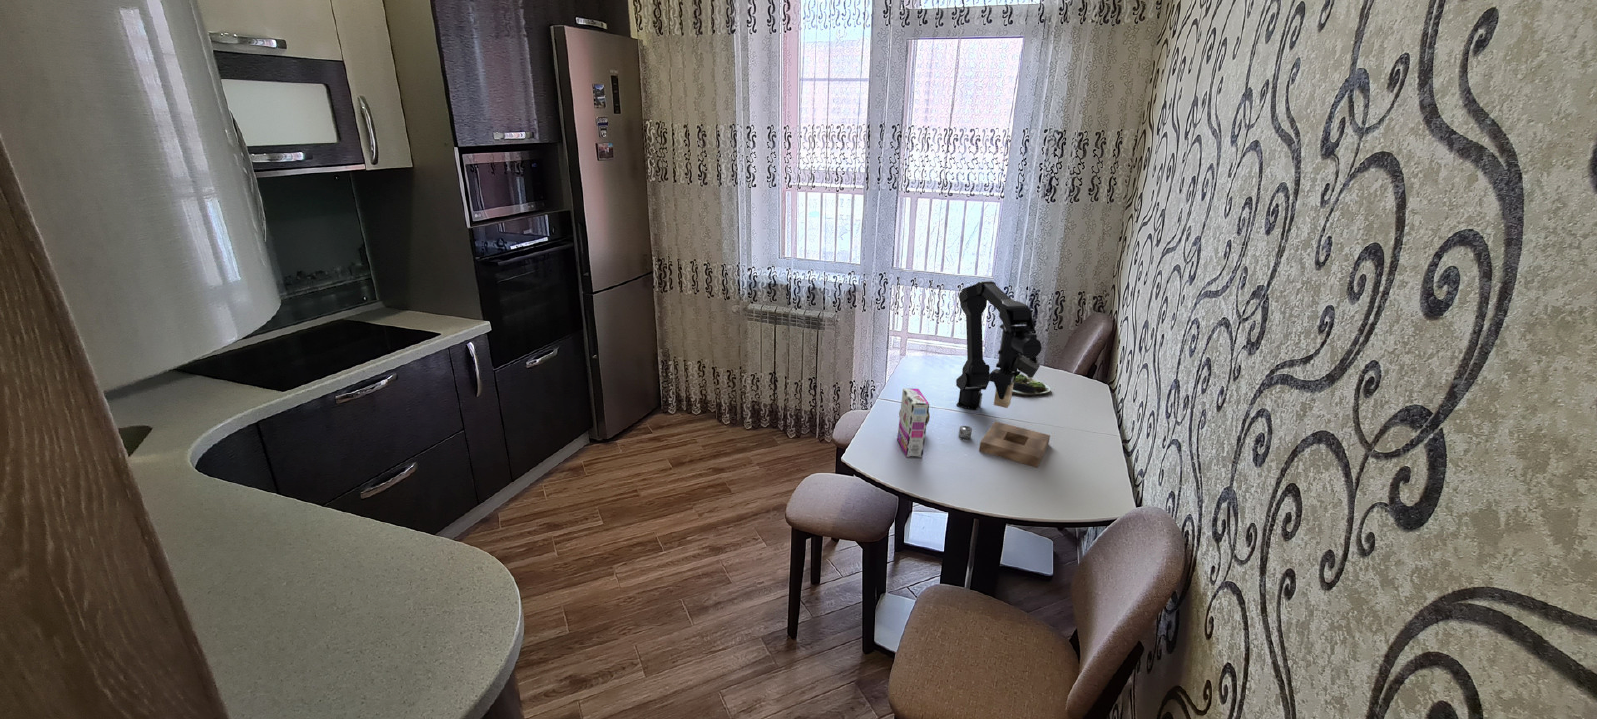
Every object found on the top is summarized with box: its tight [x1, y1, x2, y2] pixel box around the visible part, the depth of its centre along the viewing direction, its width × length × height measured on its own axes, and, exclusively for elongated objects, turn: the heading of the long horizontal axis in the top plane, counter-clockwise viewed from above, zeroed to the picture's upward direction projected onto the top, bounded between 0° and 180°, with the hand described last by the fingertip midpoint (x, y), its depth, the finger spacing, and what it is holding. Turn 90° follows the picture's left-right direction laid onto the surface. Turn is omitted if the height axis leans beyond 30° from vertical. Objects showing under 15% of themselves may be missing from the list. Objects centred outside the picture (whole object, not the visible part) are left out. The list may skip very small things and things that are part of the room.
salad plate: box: [1012, 373, 1052, 398], centre depth 222 cm, size 19×18×5 cm
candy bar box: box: [897, 388, 930, 459], centre depth 172 cm, size 11×5×16 cm, turn 5°
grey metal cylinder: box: [957, 425, 973, 441], centre depth 182 cm, size 4×4×3 cm
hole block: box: [978, 420, 1051, 468], centre depth 177 cm, size 16×16×3 cm
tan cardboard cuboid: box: [993, 382, 1014, 409], centre depth 184 cm, size 4×4×7 cm
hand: (1003, 396), depth 184 cm, fingers closed on tan cardboard cuboid, 4 cm apart
